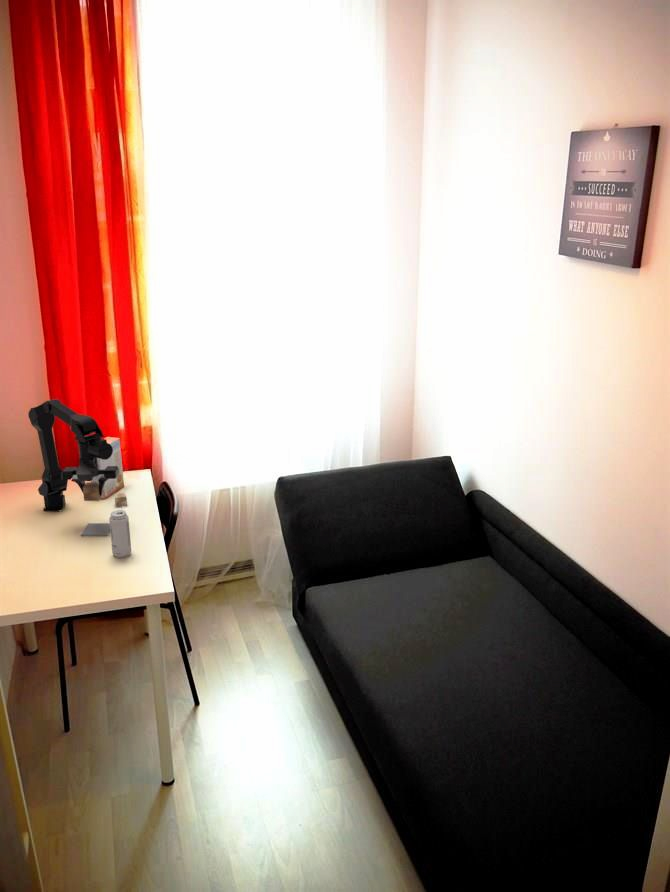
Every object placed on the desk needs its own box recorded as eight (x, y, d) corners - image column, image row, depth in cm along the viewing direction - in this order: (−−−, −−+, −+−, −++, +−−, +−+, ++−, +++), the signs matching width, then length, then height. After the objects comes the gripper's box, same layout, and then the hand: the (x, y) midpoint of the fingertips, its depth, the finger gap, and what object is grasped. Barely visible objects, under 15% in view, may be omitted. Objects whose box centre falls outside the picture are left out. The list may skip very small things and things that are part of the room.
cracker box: (111, 484, 302) (107, 435, 295) (124, 486, 301) (120, 437, 294) (91, 497, 290) (85, 447, 283) (104, 500, 288) (99, 449, 281)
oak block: (116, 507, 282) (115, 498, 280) (115, 503, 285) (114, 494, 284) (127, 506, 283) (126, 496, 282) (126, 502, 287) (125, 492, 285)
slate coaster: (80, 536, 259) (80, 534, 259) (88, 524, 267) (88, 523, 267) (106, 536, 259) (106, 534, 259) (113, 524, 268) (113, 523, 267)
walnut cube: (84, 501, 261) (82, 487, 259) (88, 495, 266) (86, 482, 264) (98, 500, 261) (97, 487, 260) (102, 495, 266) (100, 482, 264)
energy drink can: (111, 551, 248) (107, 510, 243) (130, 549, 250) (126, 508, 245) (113, 560, 243) (109, 518, 238) (132, 557, 245) (128, 515, 240)
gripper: (53, 462, 250) (59, 505, 255) (109, 461, 251) (114, 503, 256) (63, 451, 260) (68, 492, 266) (117, 450, 261) (121, 491, 266)
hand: (93, 495), depth 263 cm, fingers closed on walnut cube, 5 cm apart
